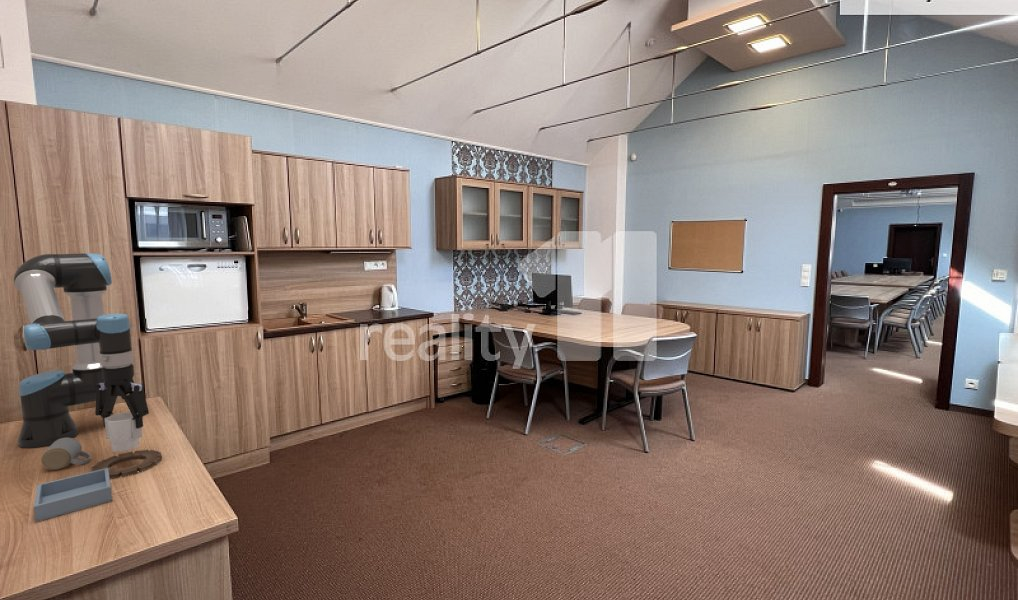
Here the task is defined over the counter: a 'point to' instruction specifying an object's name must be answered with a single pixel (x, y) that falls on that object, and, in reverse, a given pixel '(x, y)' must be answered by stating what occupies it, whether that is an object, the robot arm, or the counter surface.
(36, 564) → the counter surface
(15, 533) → the counter surface
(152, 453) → the holder ring
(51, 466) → the ceramic mug
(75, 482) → the bin
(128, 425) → the white cup
